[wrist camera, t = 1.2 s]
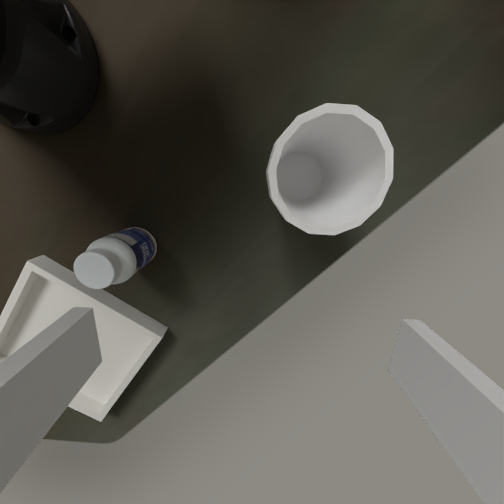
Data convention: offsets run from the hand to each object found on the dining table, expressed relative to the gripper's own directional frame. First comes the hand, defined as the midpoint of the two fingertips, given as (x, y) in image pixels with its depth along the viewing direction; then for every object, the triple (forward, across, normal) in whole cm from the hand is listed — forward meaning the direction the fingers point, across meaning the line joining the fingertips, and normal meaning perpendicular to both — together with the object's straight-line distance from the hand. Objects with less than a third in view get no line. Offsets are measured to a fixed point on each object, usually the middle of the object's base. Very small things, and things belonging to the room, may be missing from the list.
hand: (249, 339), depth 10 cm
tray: (+23, -25, -19) cm, 39 cm away
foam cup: (+23, +6, +7) cm, 25 cm away
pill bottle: (+23, -15, -3) cm, 28 cm away
